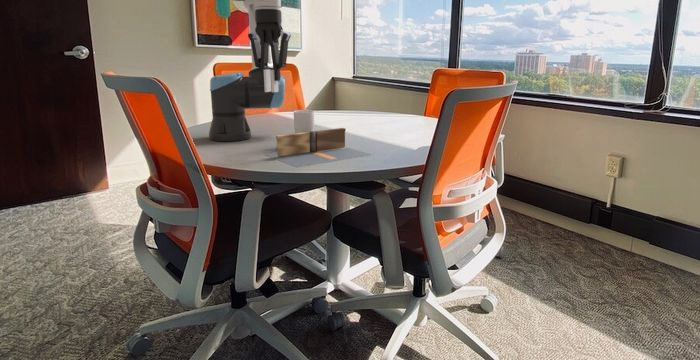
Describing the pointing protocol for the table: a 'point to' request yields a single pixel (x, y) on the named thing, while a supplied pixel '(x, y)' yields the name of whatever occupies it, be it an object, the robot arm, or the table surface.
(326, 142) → the base
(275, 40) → the robot arm
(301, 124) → the mug
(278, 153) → the wooden board
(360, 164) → the table surface
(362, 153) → the card
